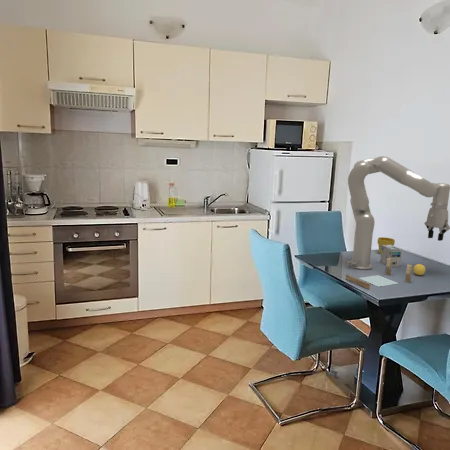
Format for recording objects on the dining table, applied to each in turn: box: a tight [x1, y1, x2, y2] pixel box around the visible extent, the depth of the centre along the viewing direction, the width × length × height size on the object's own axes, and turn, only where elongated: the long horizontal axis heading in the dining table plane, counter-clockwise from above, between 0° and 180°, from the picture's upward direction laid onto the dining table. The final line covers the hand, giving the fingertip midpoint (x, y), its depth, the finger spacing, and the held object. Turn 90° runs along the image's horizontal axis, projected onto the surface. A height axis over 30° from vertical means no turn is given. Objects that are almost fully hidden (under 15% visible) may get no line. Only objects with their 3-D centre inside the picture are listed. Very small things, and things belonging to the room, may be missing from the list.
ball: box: [412, 263, 426, 276], centre depth 226 cm, size 6×6×6 cm
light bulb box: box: [379, 245, 403, 268], centre depth 245 cm, size 11×7×11 cm, turn 13°
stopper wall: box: [345, 274, 371, 290], centre depth 207 cm, size 1×16×2 cm, turn 26°
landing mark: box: [358, 274, 399, 288], centre depth 214 cm, size 14×14×1 cm
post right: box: [404, 263, 414, 284], centre depth 213 cm, size 3×3×9 cm
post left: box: [384, 258, 392, 276], centre depth 225 cm, size 3×3×9 cm
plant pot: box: [377, 236, 396, 255], centre depth 270 cm, size 10×10×10 cm
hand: (435, 238), depth 227 cm, fingers open, 5 cm apart
